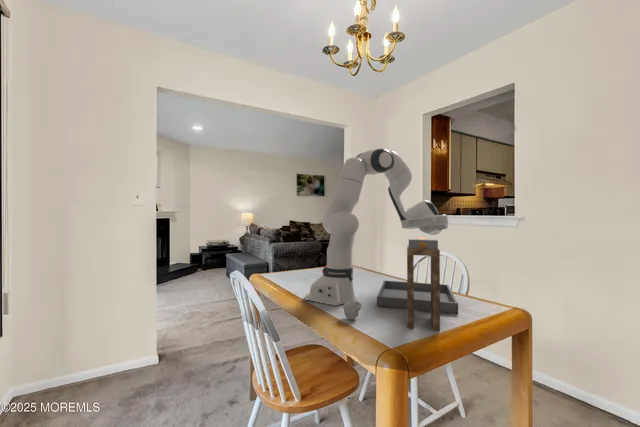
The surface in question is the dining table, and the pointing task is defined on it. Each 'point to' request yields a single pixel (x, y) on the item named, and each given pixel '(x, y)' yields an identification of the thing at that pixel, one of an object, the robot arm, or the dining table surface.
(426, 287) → the tray
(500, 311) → the dining table surface
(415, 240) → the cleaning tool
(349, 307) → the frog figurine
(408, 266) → the frame
